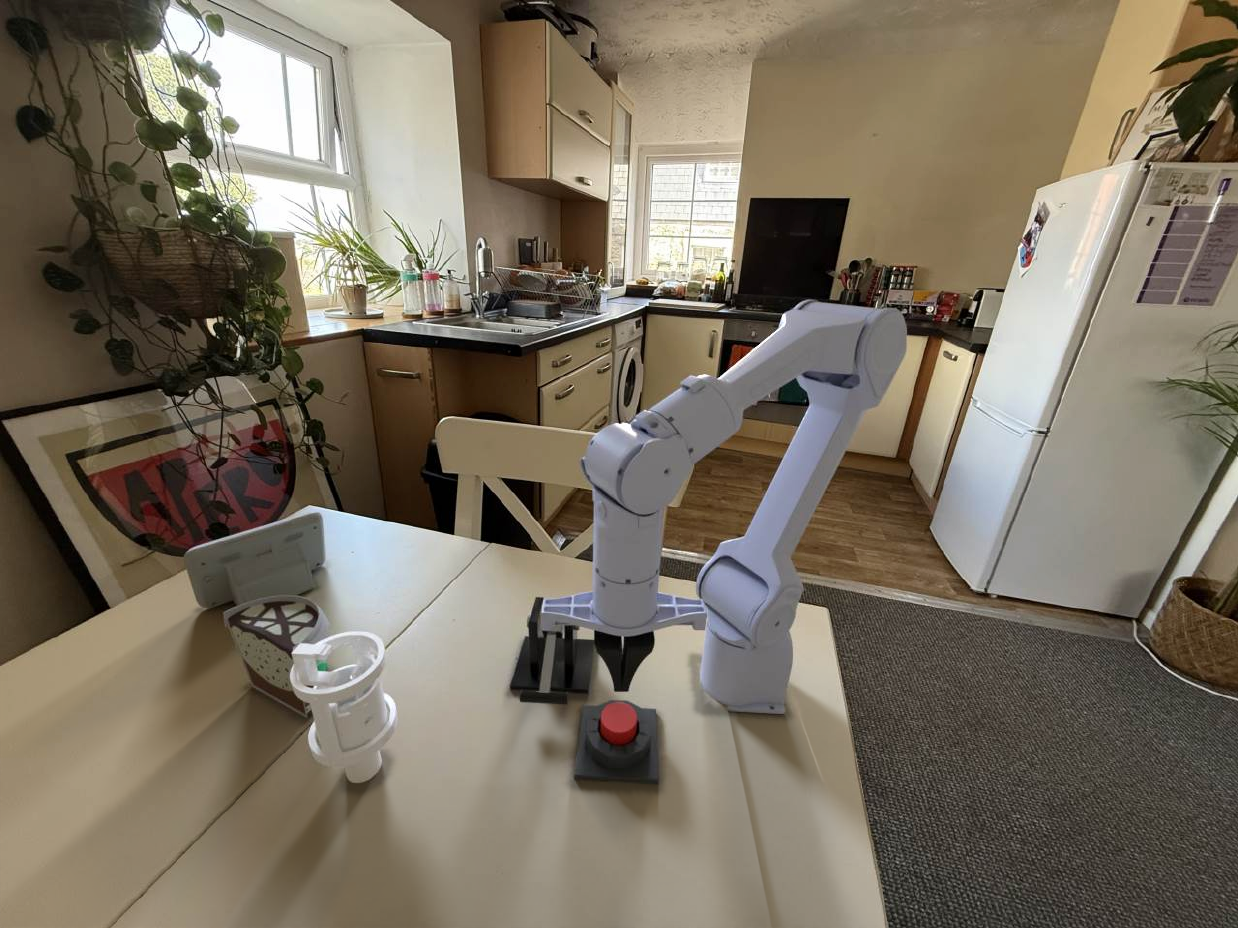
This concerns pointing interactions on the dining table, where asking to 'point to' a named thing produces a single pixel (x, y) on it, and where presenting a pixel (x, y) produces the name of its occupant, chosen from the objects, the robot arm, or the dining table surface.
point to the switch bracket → (568, 662)
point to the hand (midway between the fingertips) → (620, 683)
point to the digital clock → (258, 562)
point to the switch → (547, 673)
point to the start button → (618, 723)
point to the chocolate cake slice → (276, 642)
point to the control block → (617, 749)
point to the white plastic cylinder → (346, 704)
